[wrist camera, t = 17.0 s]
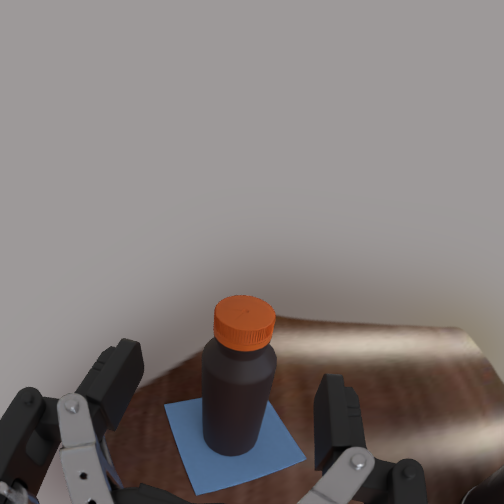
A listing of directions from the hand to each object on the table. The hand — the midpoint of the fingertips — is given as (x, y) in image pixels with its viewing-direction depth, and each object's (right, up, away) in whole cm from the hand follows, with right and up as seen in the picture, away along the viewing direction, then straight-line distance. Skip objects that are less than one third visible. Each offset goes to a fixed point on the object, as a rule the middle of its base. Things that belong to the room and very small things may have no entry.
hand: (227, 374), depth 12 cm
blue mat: (-2, -18, +20) cm, 27 cm away
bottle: (-2, -18, +20) cm, 27 cm away
